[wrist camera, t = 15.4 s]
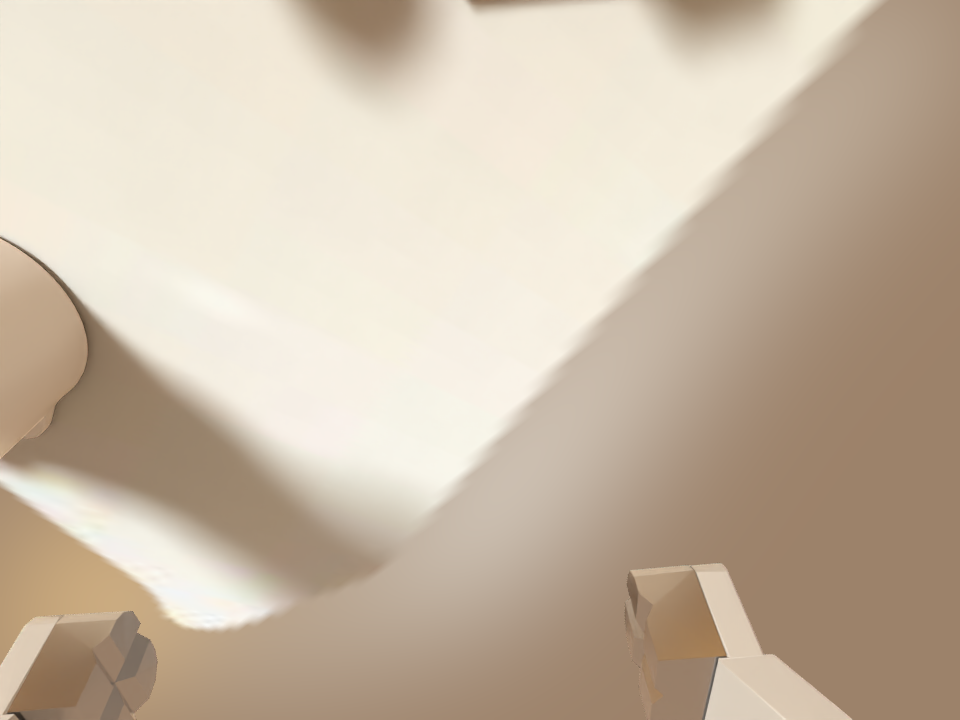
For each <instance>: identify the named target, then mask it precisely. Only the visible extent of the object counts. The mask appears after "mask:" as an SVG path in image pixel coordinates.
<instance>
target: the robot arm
mask: <svg viewBox="0 0 960 720" xmlns="http://www.w3.org/2000/svg"><path fill="white" fill-rule="evenodd" d="M87 356H88V345H87V338H86V333H85V329H84V326H83V323H82V320H81V318H80V316H79V314H78V312H77V310H76V308H75V306H74V305H73V303H72V301H71V300H70V298H69V297H68V295H67V294H66V293H65V291H64V290H63V289H62V288H61V286H60V285H59V284H58V283H57V282H56V281H55V279H54V278H53V277H52V276H51V275H50V274H49V273H48V272H47V271H46V270H44V269H43V268H42V267H41V266H40V265H39V264H38V263H36V262H35V261H34V260H33V259H32V258H30V257H29V256H27V255H26V254H25V253H23V252H22V251H20V250H19V249H17V248H16V247H14V246H13V245H11V244H9V243H8V242H6V241H4V240H2V239H0V459H1V458H2V457H3V456H4V455H5V454H6V453H7V452H9V451H10V450H11V449H12V448H13V447H14V446H15V445H16V444H17V443H18V442H19V441H20V440H21V439H22V438H27V439H31V438H36V437H38V436H40V435H41V434H42V433H43V432H44V431H45V430H46V429H47V428H48V427H49V425H50V424H51V421H52V418H53V414H54V409H55V405H56V404H57V402H58V401H59V400H60V399H61V398H62V397H63V396H65V395H66V394H67V393H68V392H69V391H70V390H71V389H72V388H73V387H74V386H75V385H76V384H77V383H78V381H79V380H80V378H81V376H82V374H83V372H84V370H85V366H86V362H87ZM627 578H628V579H627V588H628V592H629V596H630V598H629V599H628V600H627V601H626V602H625V625H626V635H627V641H628V646H629V650H630V654H631V658H632V661H633V662H634V663H635V664H636V665H637V666H638V667H639V668H640V678H639V691H640V694H641V699H642V702H643V706H644V710H645V714H646V718H647V720H853V719H851V718H850V717H849V716H848V715H847V714H845V713H844V712H843V711H842V710H841V709H839V708H838V707H837V706H836V705H834V704H833V703H832V702H831V701H830V700H828V699H827V698H826V697H825V696H824V695H822V694H821V693H820V692H819V691H818V690H816V689H815V688H814V687H813V686H812V685H810V684H809V683H808V682H807V681H806V680H804V679H803V678H802V677H801V676H799V675H798V674H797V673H796V672H795V671H793V670H792V669H791V668H790V667H788V666H787V665H786V664H785V663H784V662H783V661H781V660H780V659H779V658H778V657H776V656H775V655H774V654H764V653H763V651H762V649H761V646H760V644H759V642H758V640H757V638H756V635H755V632H754V630H753V628H752V626H751V623H750V621H749V619H748V617H747V614H746V612H745V609H744V607H743V605H742V603H741V600H740V598H739V596H738V594H737V591H736V589H735V586H734V584H733V582H732V580H731V577H730V575H729V573H728V570H727V568H726V567H725V566H723V564H721V563H715V564H704V565H694V566H689V565H683V566H673V567H662V568H651V569H642V570H631V571H629V574H628V577H627ZM140 624H141V623H140V622H139V620H138V619H137V617H136V616H135V614H134V612H133V611H126V612H108V613H91V614H75V615H74V614H73V615H56V616H43V617H34V618H33V619H32V620H31V621H30V622H28V623H27V624H26V625H25V626H24V627H23V629H22V631H21V632H20V634H19V635H18V637H17V639H16V641H15V642H14V644H13V646H12V647H11V649H10V651H9V652H8V654H7V656H6V657H5V659H4V661H3V662H2V664H1V666H0V720H136V717H135V714H134V713H135V712H136V711H137V710H138V709H139V708H140V707H141V706H142V705H143V704H144V703H145V702H146V701H147V700H148V699H149V697H150V695H151V692H152V689H153V686H154V683H155V680H156V670H157V657H156V651H155V648H154V646H153V644H152V643H151V641H150V639H148V638H146V637H144V636H142V635H140V634H139V633H137V630H138V628H139V626H140Z"/></svg>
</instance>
